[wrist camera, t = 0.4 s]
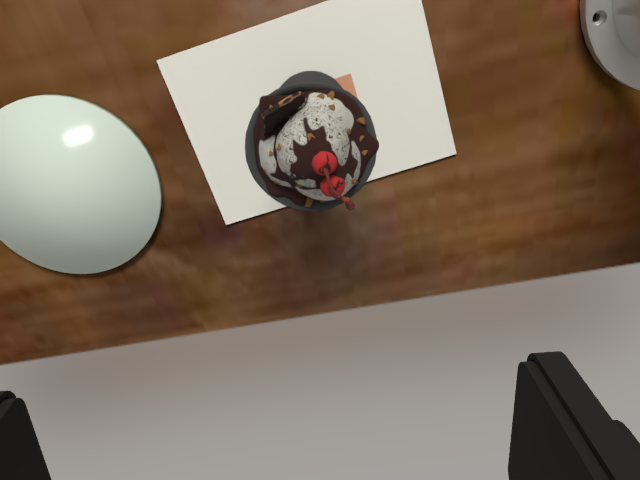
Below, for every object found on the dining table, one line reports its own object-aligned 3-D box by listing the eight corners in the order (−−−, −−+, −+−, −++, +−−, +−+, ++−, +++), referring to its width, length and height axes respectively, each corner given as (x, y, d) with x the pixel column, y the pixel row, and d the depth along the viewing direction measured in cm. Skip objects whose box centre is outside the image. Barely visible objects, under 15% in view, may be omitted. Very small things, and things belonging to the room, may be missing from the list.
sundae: (359, 158, 39) (384, 252, 25) (261, 155, 39) (234, 248, 25) (365, 59, 36) (398, 104, 23) (260, 55, 36) (230, 98, 22)
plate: (111, 67, 37) (107, 68, 36) (191, 241, 42) (189, 245, 41) (-65, 129, 38) (-71, 131, 37) (33, 290, 43) (29, 294, 43)
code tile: (413, -30, 34) (414, -30, 34) (455, 153, 39) (456, 153, 39) (157, 60, 36) (156, 60, 36) (226, 223, 41) (226, 225, 41)
